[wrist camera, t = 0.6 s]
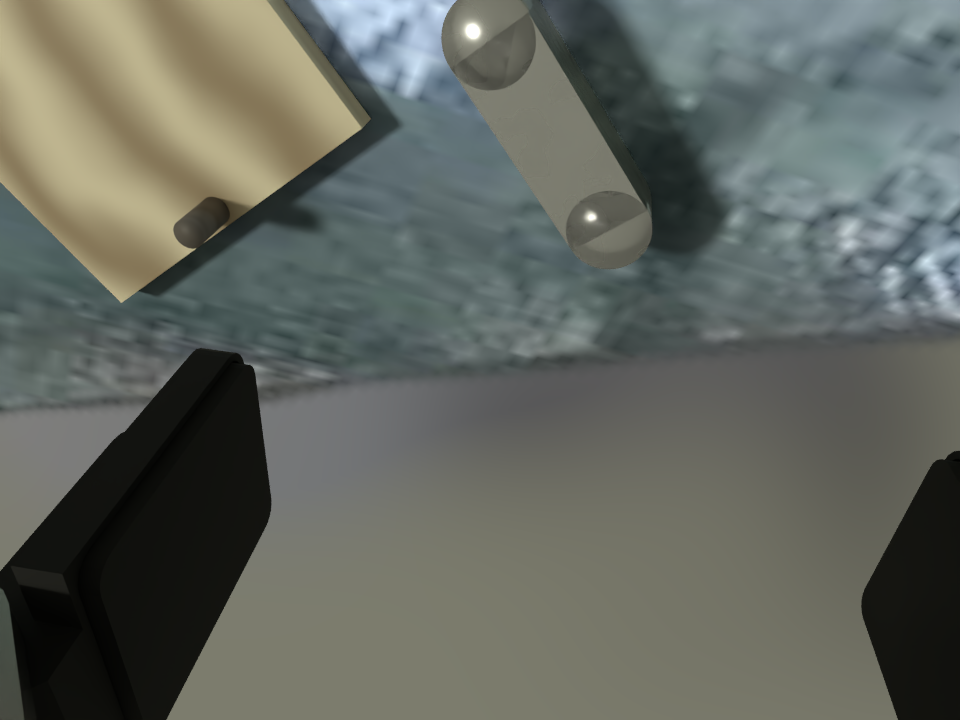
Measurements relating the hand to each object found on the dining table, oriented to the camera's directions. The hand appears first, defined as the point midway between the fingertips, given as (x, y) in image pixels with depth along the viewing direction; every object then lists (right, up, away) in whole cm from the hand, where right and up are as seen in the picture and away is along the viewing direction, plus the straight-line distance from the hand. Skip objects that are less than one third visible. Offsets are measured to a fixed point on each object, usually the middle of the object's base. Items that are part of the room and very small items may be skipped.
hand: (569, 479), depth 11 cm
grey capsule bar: (+3, +13, +25) cm, 29 cm away
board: (-20, +17, +27) cm, 38 cm away
